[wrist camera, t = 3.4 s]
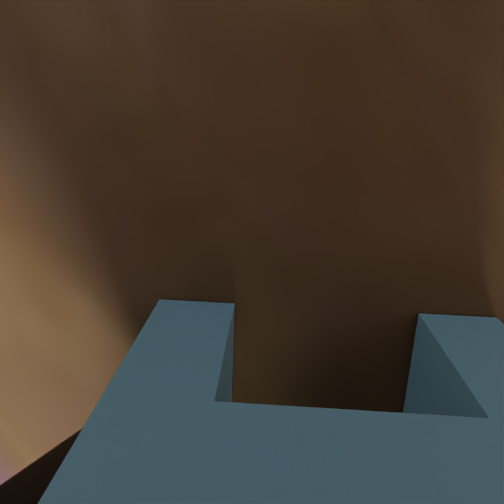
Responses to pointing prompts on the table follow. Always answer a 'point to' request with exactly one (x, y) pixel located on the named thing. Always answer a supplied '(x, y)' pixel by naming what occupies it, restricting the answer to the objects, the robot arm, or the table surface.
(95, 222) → the table surface
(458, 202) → the table surface
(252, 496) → the block
